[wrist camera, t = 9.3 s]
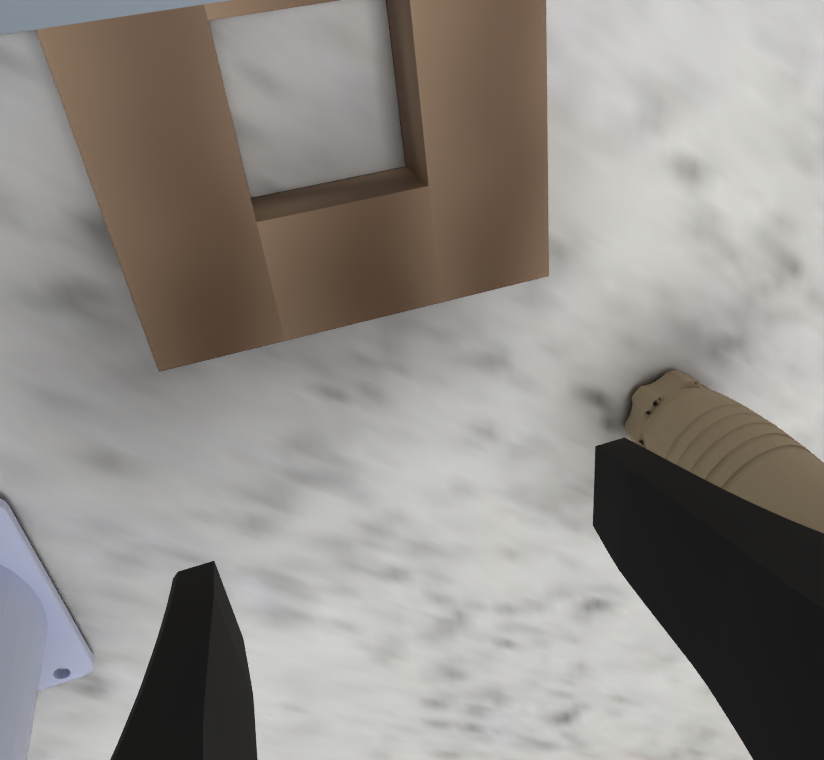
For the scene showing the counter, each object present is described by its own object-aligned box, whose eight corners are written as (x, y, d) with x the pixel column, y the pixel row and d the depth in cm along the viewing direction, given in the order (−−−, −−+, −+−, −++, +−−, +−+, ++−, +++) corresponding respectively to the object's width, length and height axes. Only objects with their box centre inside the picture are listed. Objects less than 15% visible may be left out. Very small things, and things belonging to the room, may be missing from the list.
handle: (563, 447, 27) (911, 863, 15) (675, 308, 25) (1176, 646, 13) (643, 485, 29) (998, 870, 17) (749, 361, 28) (1229, 688, 15)
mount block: (158, 337, 20) (158, 371, 18) (-11, -147, 14) (-33, -161, 12) (519, 252, 22) (548, 276, 20) (504, -200, 16) (543, -218, 15)
